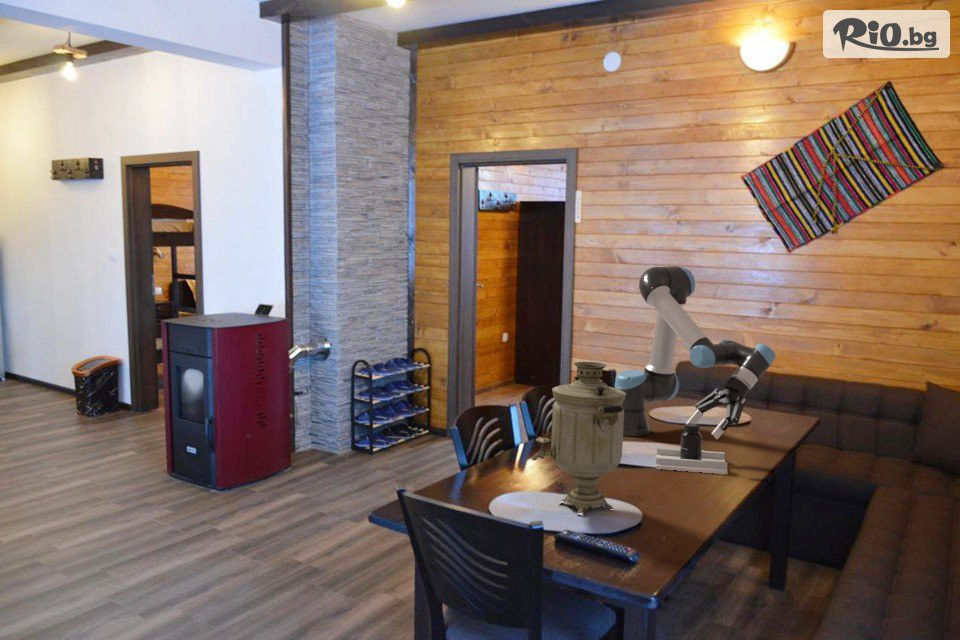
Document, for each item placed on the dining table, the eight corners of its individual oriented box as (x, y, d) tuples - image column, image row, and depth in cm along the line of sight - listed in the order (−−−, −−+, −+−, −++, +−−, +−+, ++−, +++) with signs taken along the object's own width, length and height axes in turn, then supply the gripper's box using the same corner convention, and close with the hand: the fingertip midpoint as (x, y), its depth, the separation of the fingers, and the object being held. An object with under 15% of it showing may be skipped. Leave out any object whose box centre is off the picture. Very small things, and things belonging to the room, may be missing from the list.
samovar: (521, 489, 218) (523, 356, 214) (608, 487, 220) (611, 355, 216) (536, 528, 189) (538, 373, 184) (636, 525, 190) (640, 373, 186)
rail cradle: (656, 469, 239) (656, 459, 238) (656, 455, 254) (657, 446, 254) (727, 474, 233) (727, 464, 233) (723, 460, 249) (724, 451, 248)
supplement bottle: (678, 461, 242) (678, 425, 241) (682, 456, 248) (683, 421, 247) (699, 464, 239) (700, 428, 238) (703, 459, 245) (704, 423, 244)
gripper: (772, 398, 236) (732, 448, 232) (722, 383, 259) (685, 429, 256) (760, 383, 233) (719, 433, 230) (710, 369, 257) (672, 415, 253)
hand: (701, 431), depth 243 cm, fingers open, 13 cm apart
